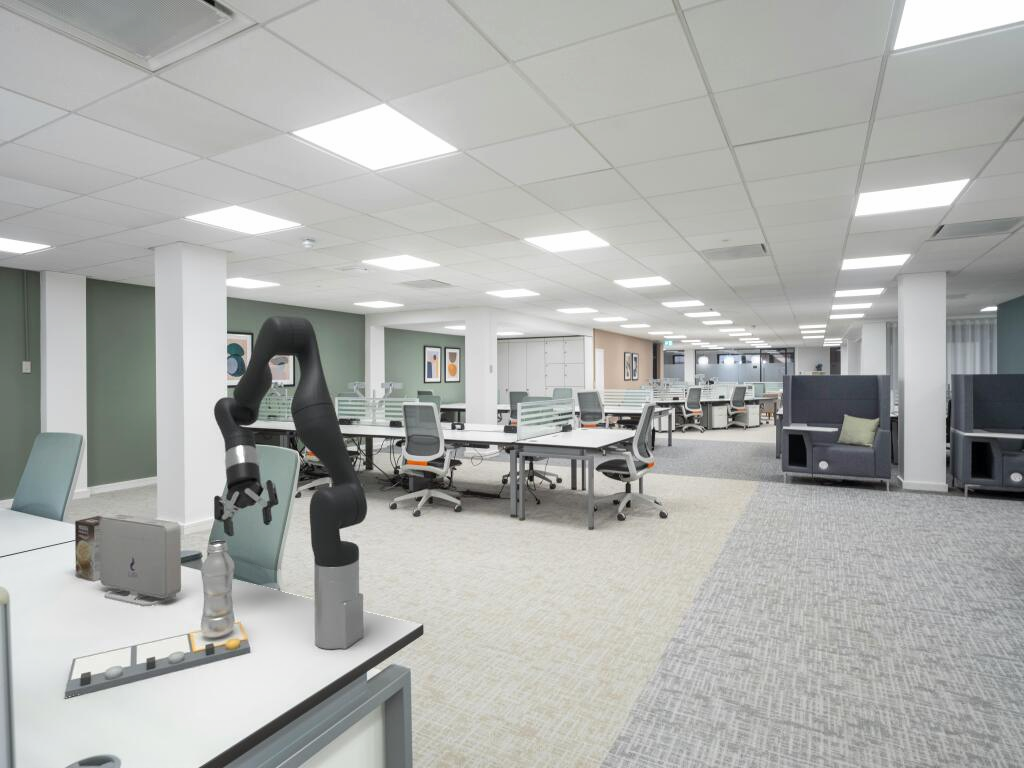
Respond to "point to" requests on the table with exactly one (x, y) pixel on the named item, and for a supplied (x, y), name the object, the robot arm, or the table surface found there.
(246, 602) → the table surface
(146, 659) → the board
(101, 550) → the network device
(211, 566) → the plastic bottle
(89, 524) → the coffee box
